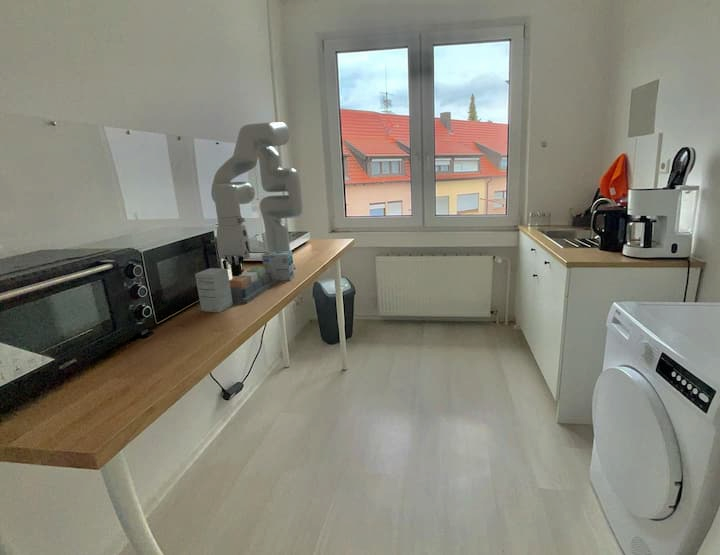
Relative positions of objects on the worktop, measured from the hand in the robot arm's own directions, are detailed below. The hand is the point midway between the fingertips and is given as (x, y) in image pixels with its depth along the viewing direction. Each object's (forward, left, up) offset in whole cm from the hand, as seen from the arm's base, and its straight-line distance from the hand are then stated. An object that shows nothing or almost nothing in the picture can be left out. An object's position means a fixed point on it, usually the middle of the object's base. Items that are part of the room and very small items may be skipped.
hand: (237, 275), depth 146 cm
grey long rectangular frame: (-7, 0, -8) cm, 11 cm away
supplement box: (+10, -3, -9) cm, 14 cm away
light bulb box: (-25, +4, -9) cm, 27 cm away
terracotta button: (0, 0, -6) cm, 6 cm away
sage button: (-14, 0, -5) cm, 15 cm away
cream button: (-7, 0, -6) cm, 9 cm away
